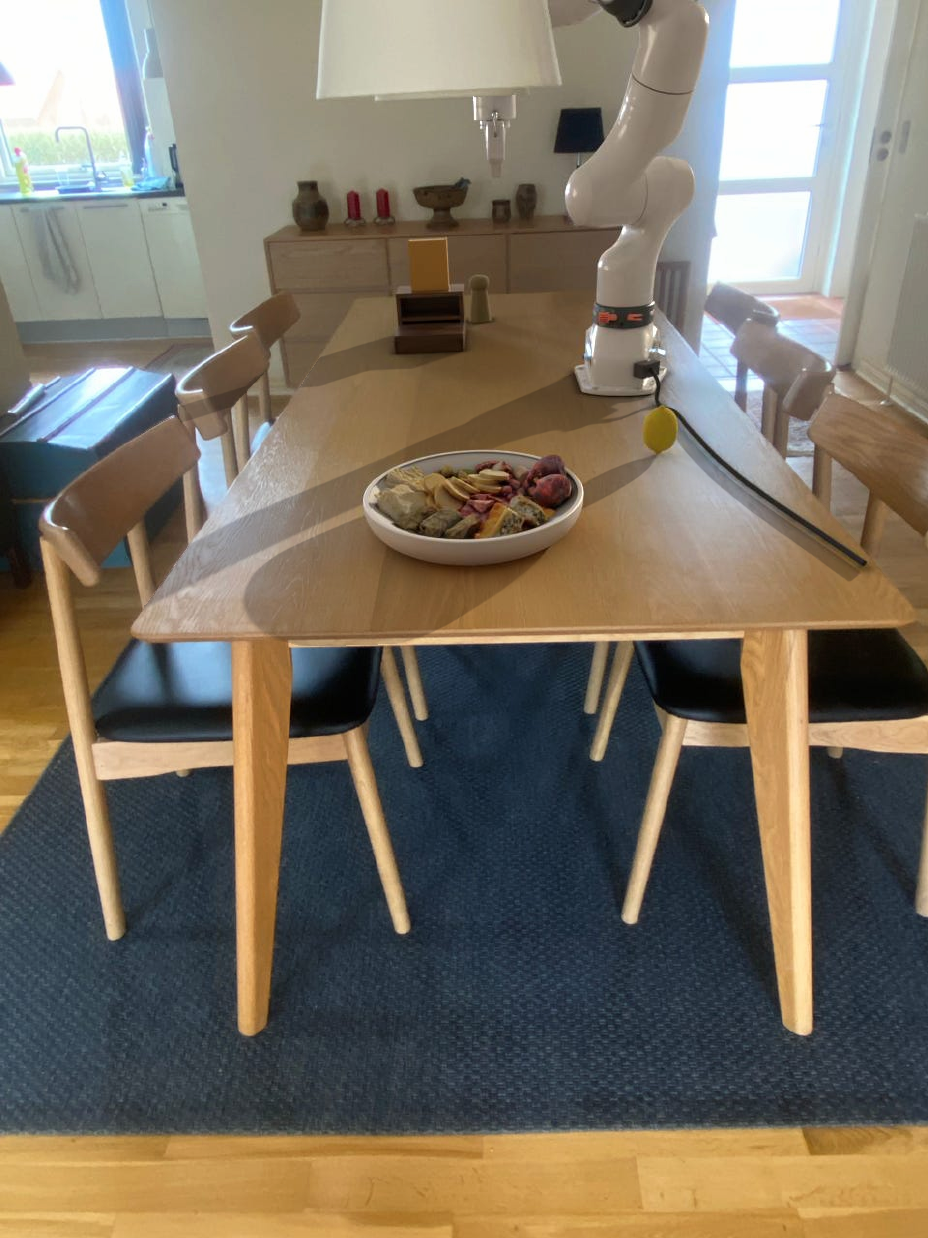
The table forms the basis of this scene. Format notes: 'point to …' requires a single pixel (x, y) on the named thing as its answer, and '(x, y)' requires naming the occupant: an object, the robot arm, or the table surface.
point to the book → (428, 263)
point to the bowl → (474, 506)
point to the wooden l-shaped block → (430, 320)
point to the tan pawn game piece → (479, 300)
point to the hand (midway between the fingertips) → (496, 183)
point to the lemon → (660, 429)
